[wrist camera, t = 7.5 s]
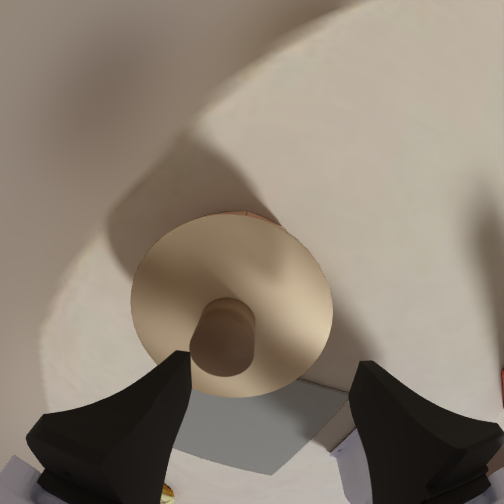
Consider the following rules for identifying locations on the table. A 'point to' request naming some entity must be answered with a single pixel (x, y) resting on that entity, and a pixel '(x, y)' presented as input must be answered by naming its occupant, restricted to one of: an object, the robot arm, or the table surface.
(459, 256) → the table surface
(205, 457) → the mat
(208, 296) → the lid
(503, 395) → the cracker box
